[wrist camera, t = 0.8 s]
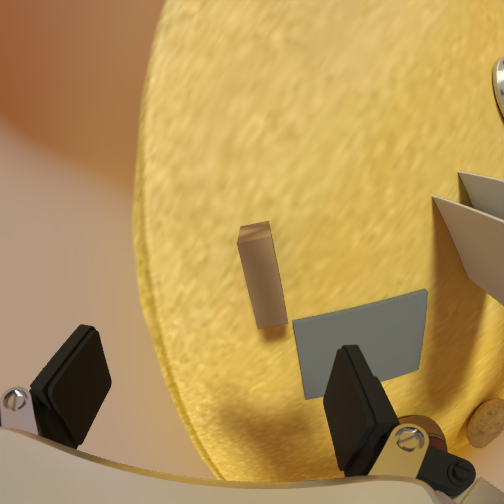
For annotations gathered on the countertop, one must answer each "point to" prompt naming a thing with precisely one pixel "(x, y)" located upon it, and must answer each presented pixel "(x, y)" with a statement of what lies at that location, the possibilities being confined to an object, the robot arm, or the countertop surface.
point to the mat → (363, 339)
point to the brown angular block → (262, 274)
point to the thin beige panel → (479, 231)
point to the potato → (486, 423)
